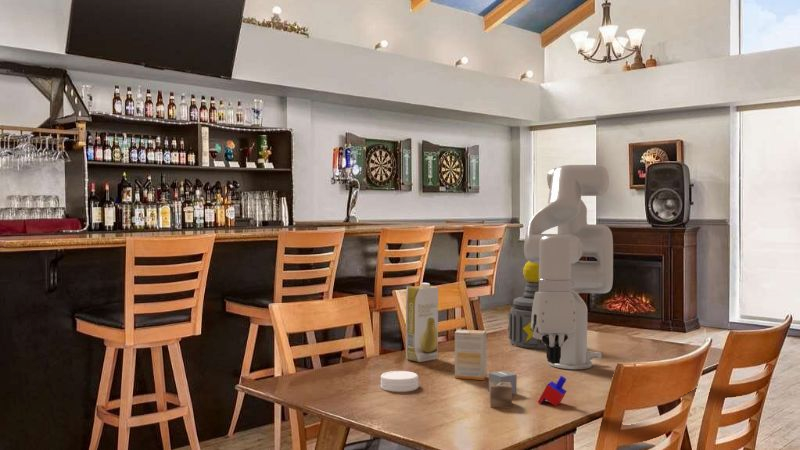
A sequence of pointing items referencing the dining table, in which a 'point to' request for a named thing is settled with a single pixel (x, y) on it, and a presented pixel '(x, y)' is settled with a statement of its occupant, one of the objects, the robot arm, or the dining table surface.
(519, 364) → the dining table surface
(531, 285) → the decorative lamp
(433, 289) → the juice carton
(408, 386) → the white short cylinder
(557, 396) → the toy building block
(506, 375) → the numeral one cube
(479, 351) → the supplement box
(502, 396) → the numeral seven cube
